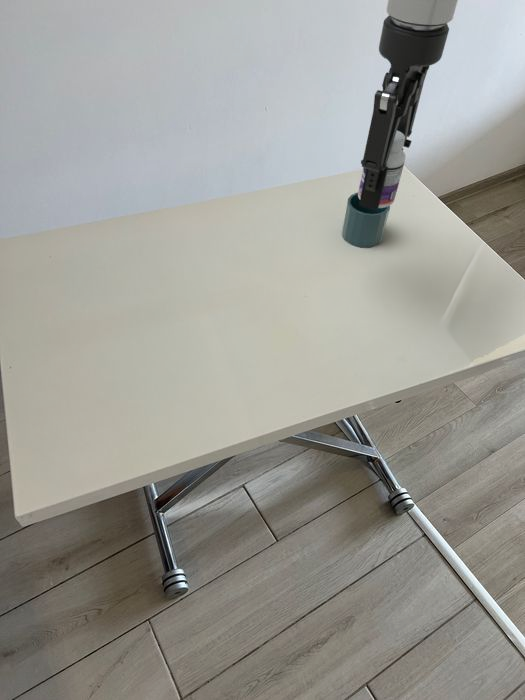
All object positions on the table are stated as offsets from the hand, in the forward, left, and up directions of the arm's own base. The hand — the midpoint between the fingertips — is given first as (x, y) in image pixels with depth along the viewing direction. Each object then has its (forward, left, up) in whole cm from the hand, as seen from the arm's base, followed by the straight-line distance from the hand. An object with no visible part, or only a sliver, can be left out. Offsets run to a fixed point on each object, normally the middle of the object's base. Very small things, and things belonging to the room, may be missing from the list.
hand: (376, 196), depth 78 cm
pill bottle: (0, 0, -1) cm, 1 cm away
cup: (+5, -14, -17) cm, 23 cm away
